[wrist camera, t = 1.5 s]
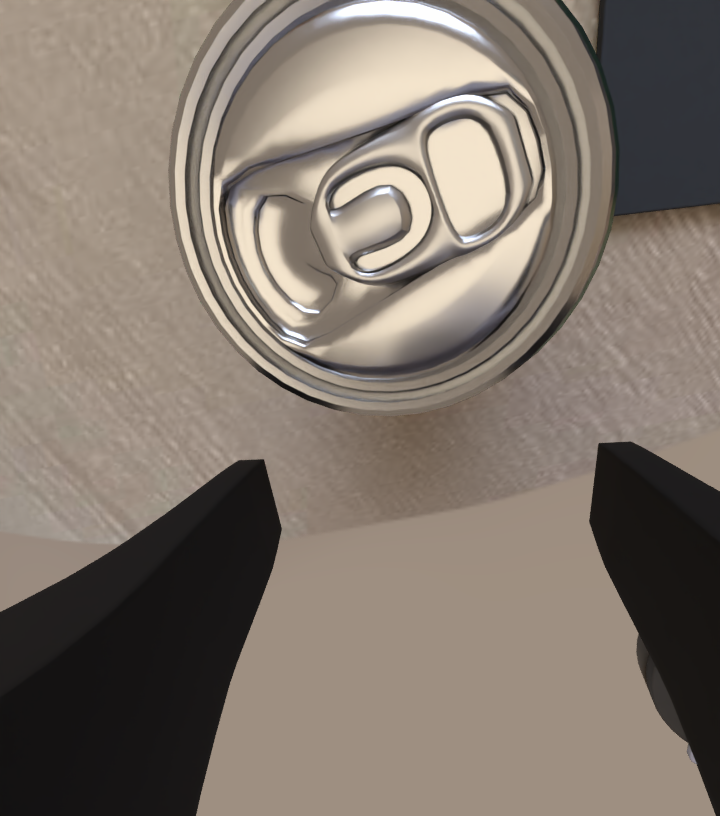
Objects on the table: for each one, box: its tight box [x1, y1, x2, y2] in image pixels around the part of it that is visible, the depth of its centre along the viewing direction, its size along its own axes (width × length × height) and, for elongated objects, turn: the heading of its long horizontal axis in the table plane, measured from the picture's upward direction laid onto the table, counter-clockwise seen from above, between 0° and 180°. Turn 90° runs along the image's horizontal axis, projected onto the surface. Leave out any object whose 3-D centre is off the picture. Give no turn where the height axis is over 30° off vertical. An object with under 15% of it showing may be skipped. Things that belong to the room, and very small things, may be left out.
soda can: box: [169, 0, 620, 416], centre depth 10 cm, size 5×5×12 cm
